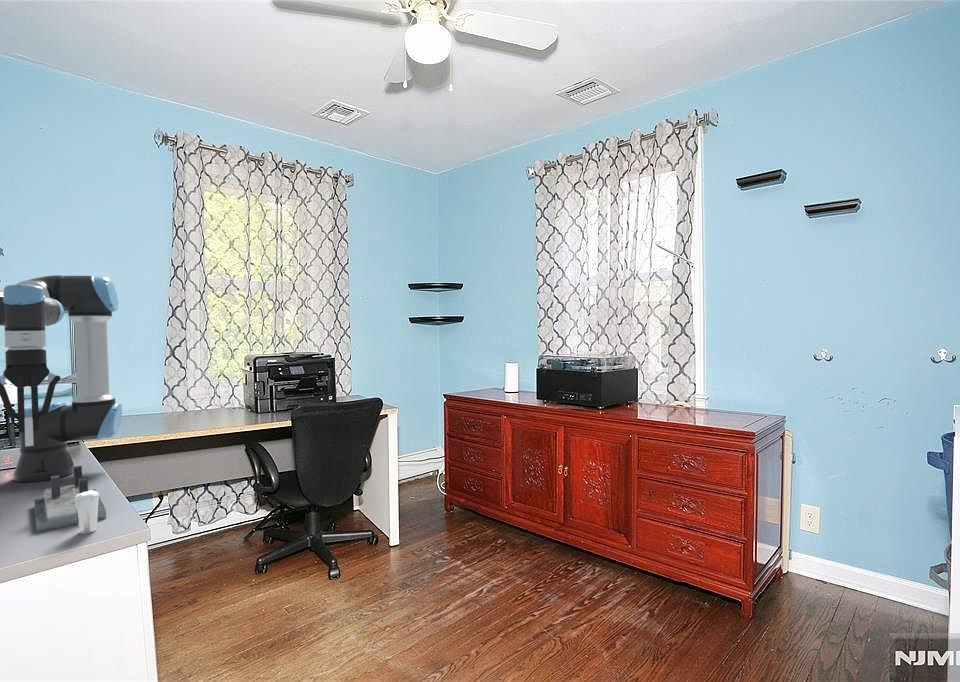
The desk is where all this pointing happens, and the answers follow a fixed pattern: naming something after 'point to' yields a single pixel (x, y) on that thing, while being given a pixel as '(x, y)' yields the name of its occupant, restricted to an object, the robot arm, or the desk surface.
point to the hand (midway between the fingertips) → (29, 445)
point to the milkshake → (86, 511)
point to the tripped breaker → (55, 486)
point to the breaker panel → (61, 520)
